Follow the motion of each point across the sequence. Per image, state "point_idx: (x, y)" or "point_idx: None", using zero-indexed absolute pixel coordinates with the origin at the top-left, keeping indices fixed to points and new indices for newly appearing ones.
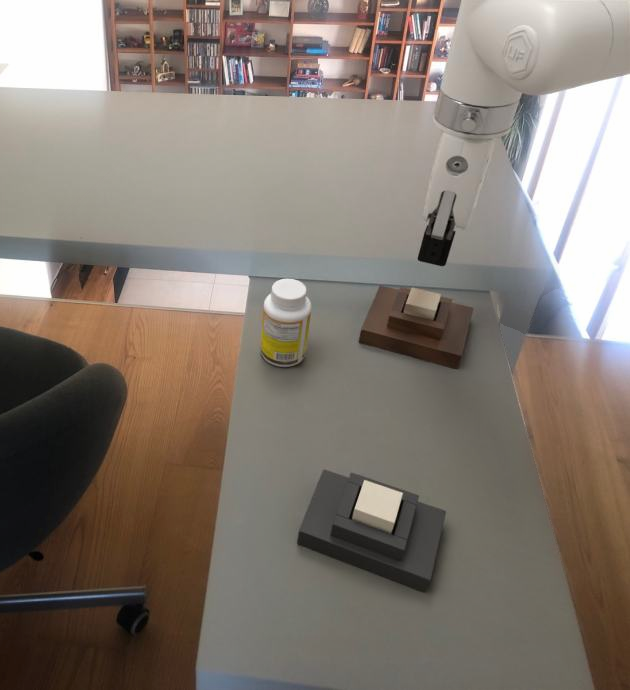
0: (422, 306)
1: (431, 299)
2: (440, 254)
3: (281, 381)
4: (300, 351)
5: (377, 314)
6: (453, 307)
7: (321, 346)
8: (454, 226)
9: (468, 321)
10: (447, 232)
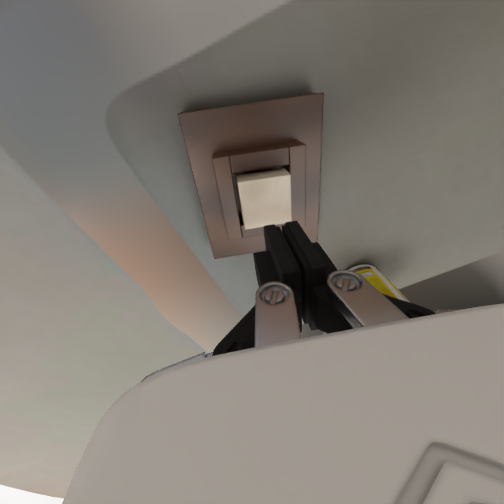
0: (289, 198)
1: (262, 191)
2: (323, 251)
3: (395, 264)
4: (380, 275)
5: None
6: (200, 149)
7: (331, 258)
8: (384, 309)
9: (224, 110)
10: (430, 312)
